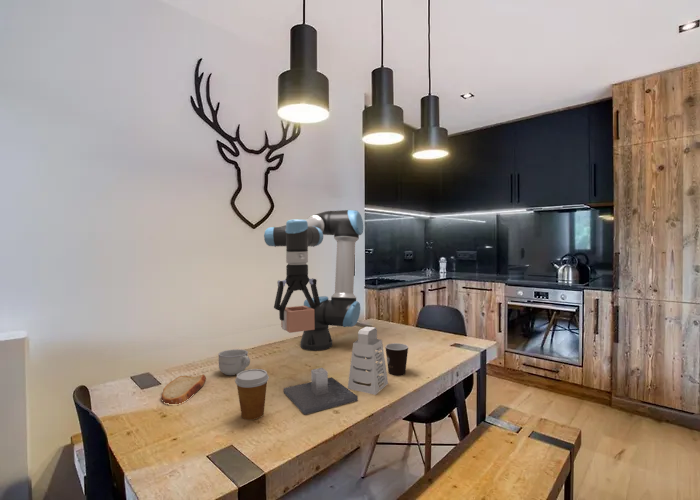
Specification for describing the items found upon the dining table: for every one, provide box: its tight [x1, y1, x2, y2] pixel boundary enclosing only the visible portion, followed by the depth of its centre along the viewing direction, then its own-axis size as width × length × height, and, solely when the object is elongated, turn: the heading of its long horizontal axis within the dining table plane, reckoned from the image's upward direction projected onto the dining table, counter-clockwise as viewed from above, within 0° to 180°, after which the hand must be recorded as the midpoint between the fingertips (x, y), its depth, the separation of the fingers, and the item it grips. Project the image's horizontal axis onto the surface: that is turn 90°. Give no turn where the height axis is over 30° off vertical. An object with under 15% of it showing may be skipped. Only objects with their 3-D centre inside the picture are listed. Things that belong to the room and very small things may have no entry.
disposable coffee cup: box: [234, 368, 270, 421], centre depth 107 cm, size 10×10×12 cm
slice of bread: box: [160, 374, 207, 404], centre depth 125 cm, size 18×18×4 cm
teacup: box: [217, 348, 251, 376], centre depth 140 cm, size 14×11×8 cm
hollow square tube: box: [280, 305, 315, 334], centre depth 129 cm, size 9×9×7 cm
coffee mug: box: [384, 342, 409, 377], centre depth 140 cm, size 12×9×10 cm
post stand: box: [283, 367, 359, 416], centre depth 119 cm, size 18×18×8 cm
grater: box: [347, 326, 389, 396], centre depth 127 cm, size 10×10×20 cm
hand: (297, 327), depth 129 cm, fingers closed on hollow square tube, 9 cm apart
